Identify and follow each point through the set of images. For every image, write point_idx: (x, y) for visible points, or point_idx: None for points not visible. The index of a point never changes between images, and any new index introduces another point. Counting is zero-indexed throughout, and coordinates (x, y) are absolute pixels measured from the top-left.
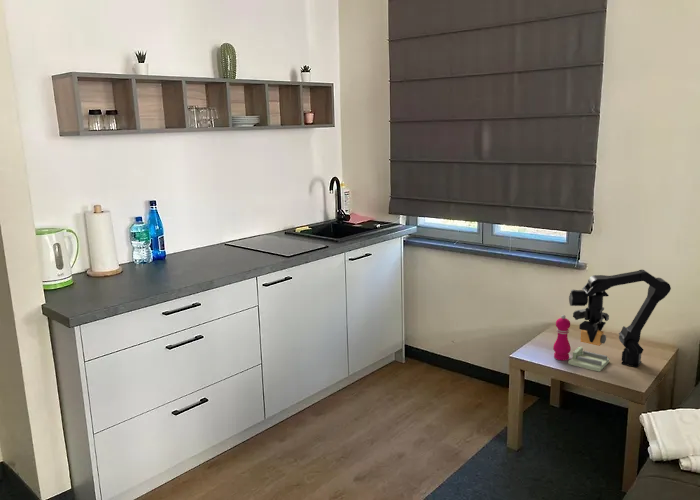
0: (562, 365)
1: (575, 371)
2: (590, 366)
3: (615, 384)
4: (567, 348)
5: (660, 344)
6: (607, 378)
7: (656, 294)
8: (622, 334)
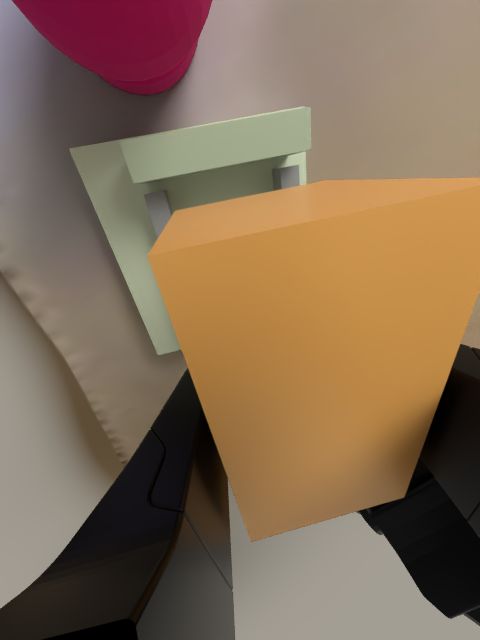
0: (8, 127)
1: (33, 263)
2: (139, 312)
3: (110, 434)
4: (77, 44)
5: None
6: (129, 396)
7: None
8: (447, 503)
